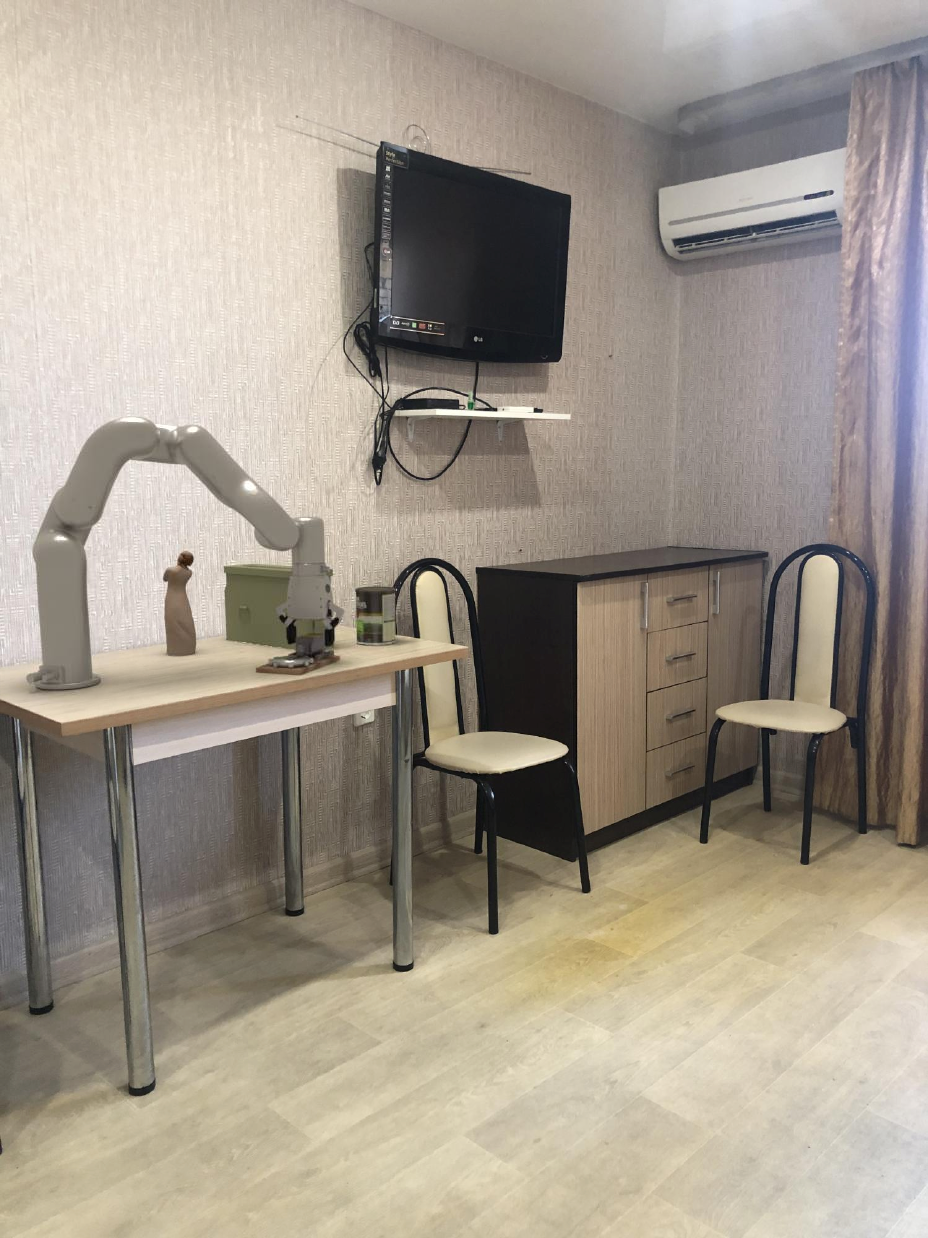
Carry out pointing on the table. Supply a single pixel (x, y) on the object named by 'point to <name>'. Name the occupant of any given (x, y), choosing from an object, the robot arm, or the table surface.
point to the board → (299, 670)
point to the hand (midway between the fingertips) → (310, 644)
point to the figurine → (179, 608)
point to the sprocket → (292, 659)
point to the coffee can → (375, 615)
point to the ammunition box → (261, 605)
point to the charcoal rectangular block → (312, 644)
